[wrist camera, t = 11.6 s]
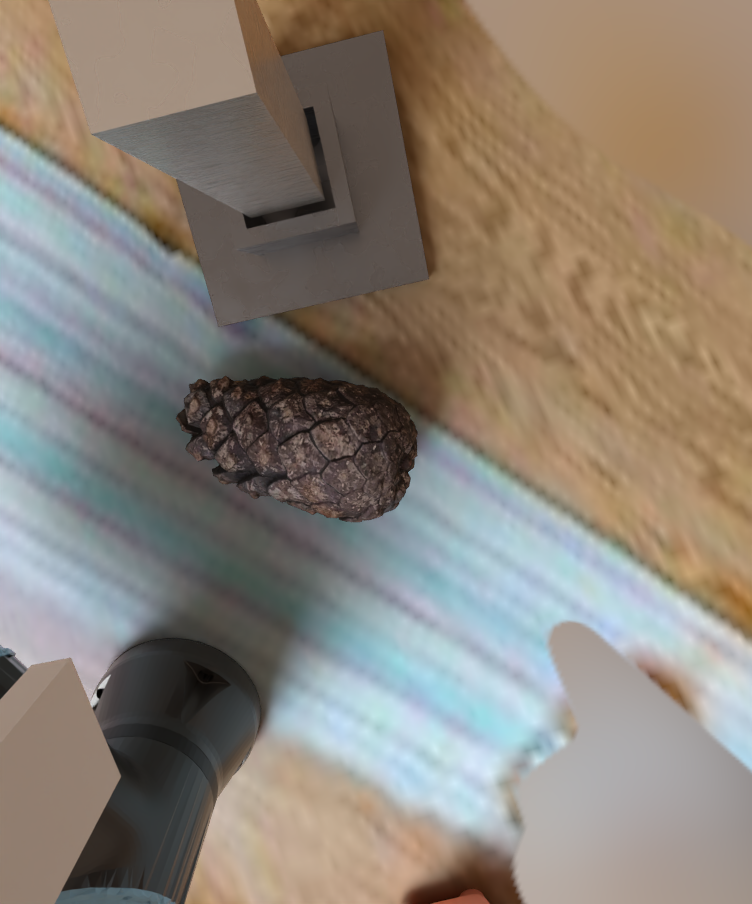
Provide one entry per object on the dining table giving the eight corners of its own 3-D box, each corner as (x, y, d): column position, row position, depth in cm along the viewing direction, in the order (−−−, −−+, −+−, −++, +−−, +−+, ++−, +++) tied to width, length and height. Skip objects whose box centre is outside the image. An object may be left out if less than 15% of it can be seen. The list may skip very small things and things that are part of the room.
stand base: (223, 325, 45) (117, 353, 26) (158, 96, 40) (-23, -59, 22) (427, 279, 44) (462, 275, 25) (382, 39, 39) (386, -172, 21)
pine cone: (193, 361, 46) (144, 381, 36) (418, 375, 46) (429, 399, 36) (196, 485, 49) (151, 535, 39) (408, 498, 49) (415, 551, 39)
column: (251, 217, 34) (91, 134, 15) (226, 122, 33) (15, -104, 14) (324, 200, 34) (256, 92, 15) (303, 102, 33) (196, -155, 14)
